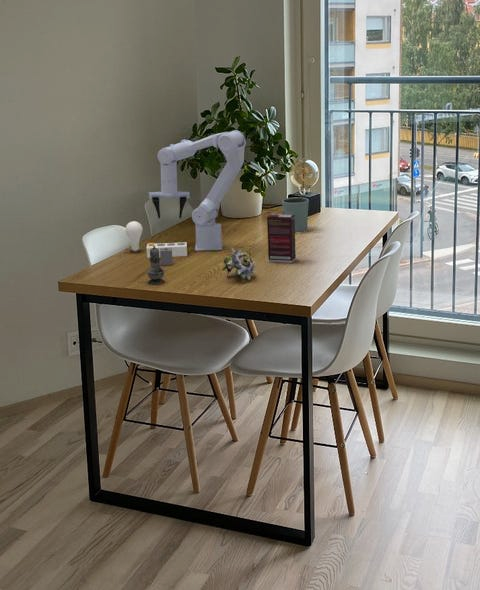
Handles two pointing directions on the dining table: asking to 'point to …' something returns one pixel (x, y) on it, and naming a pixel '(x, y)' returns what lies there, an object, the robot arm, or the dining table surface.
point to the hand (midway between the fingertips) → (169, 217)
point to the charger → (166, 256)
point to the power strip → (177, 248)
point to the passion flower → (240, 264)
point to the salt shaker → (155, 268)
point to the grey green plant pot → (297, 211)
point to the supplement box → (281, 238)
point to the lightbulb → (134, 234)
